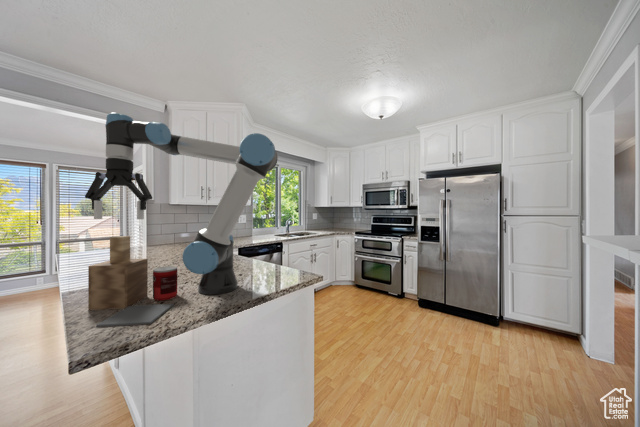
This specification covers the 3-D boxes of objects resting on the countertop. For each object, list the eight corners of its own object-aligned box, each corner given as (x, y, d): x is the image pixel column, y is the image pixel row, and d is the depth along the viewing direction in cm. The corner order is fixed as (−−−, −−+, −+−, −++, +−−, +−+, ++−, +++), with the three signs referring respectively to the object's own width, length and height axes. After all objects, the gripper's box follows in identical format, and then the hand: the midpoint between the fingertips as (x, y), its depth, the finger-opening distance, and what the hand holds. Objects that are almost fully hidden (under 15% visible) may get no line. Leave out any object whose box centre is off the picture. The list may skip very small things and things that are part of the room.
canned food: (162, 293, 94) (162, 266, 94) (181, 294, 94) (181, 266, 94) (147, 300, 87) (147, 270, 87) (168, 301, 86) (169, 270, 87)
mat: (173, 305, 82) (173, 303, 82) (150, 323, 69) (150, 321, 69) (129, 307, 81) (129, 305, 81) (96, 326, 67) (96, 324, 67)
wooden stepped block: (147, 296, 91) (147, 235, 91) (127, 308, 80) (127, 238, 80) (114, 297, 90) (114, 235, 90) (88, 310, 78) (88, 238, 78)
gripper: (163, 162, 90) (162, 219, 90) (89, 160, 87) (88, 218, 87) (152, 158, 83) (151, 219, 83) (70, 155, 79) (70, 219, 79)
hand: (119, 219), depth 85 cm, fingers open, 13 cm apart
